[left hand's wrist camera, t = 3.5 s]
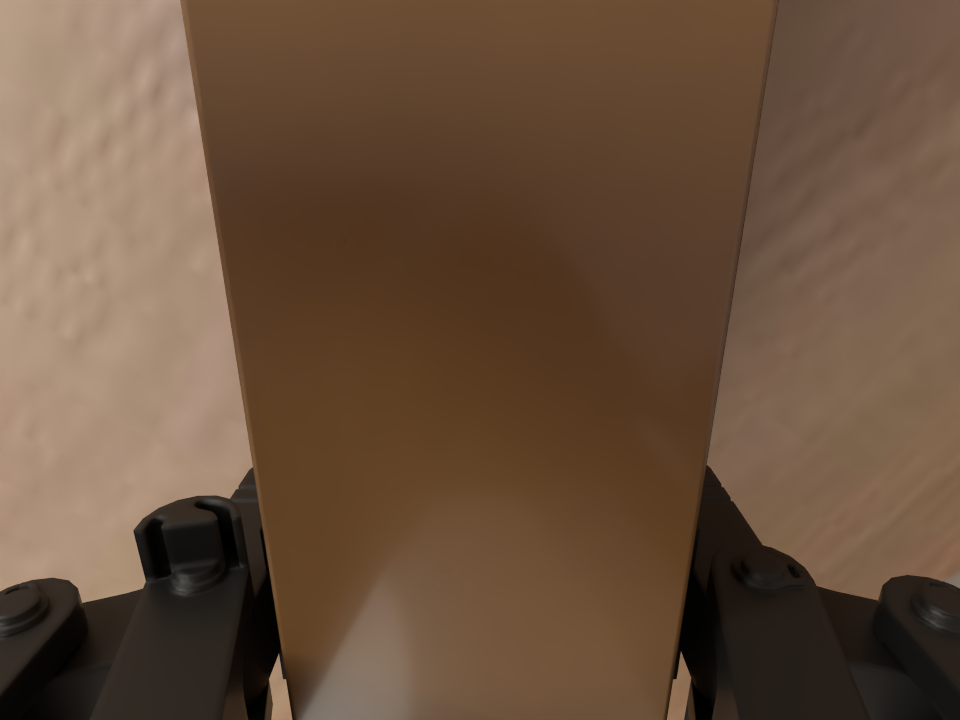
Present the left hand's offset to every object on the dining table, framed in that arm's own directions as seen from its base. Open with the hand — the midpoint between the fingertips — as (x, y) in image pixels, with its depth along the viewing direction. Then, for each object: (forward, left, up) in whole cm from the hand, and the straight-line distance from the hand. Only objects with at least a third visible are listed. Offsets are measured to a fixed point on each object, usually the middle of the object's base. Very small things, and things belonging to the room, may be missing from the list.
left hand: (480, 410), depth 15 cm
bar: (+5, +8, -1) cm, 9 cm away
